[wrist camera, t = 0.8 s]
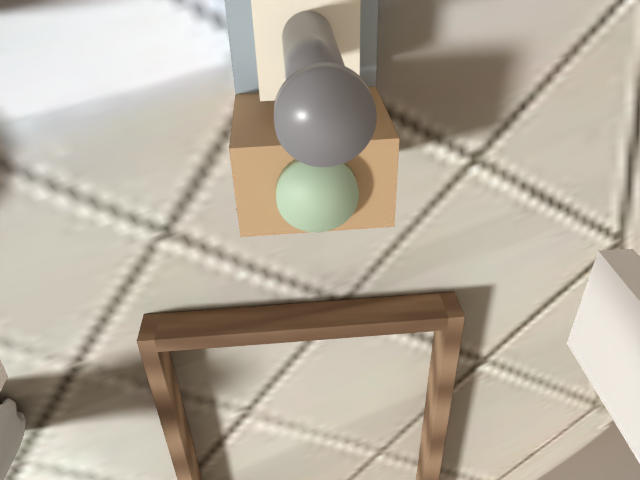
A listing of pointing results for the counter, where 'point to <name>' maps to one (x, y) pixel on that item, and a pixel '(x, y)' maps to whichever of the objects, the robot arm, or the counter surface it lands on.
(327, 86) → the carriage
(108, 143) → the counter surface
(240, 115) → the rail
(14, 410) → the bottle
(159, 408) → the wooden frame
